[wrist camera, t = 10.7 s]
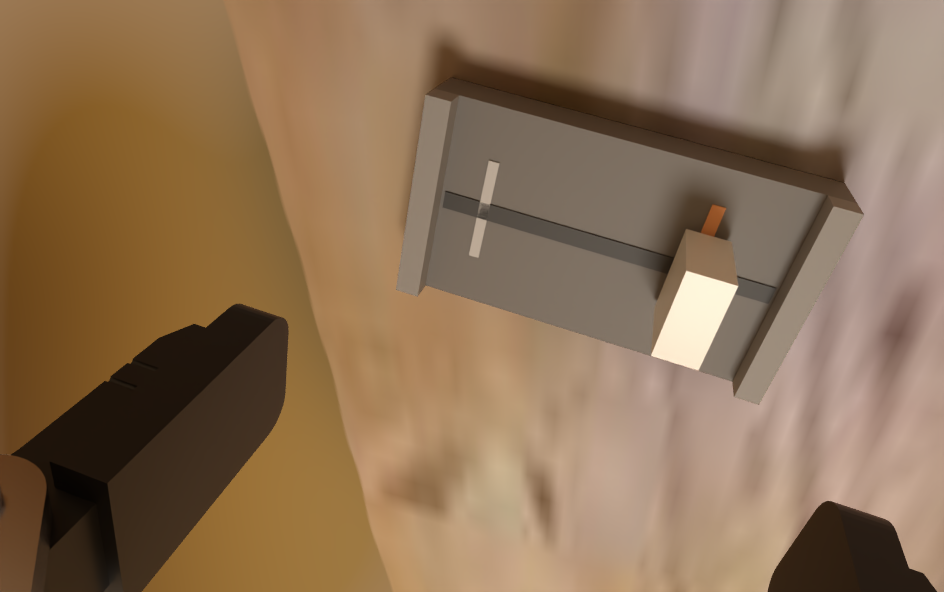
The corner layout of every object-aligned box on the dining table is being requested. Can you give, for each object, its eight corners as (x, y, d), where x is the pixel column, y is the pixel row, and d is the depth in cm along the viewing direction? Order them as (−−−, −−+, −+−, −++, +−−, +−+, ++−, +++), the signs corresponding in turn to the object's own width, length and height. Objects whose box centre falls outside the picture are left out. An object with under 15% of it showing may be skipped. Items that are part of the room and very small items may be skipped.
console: (451, 77, 38) (425, 94, 34) (844, 183, 35) (863, 214, 31) (420, 258, 44) (396, 289, 41) (752, 360, 41) (758, 404, 38)
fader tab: (686, 228, 35) (686, 270, 31) (731, 241, 35) (738, 286, 30) (654, 307, 38) (650, 355, 33) (696, 319, 37) (698, 370, 33)
